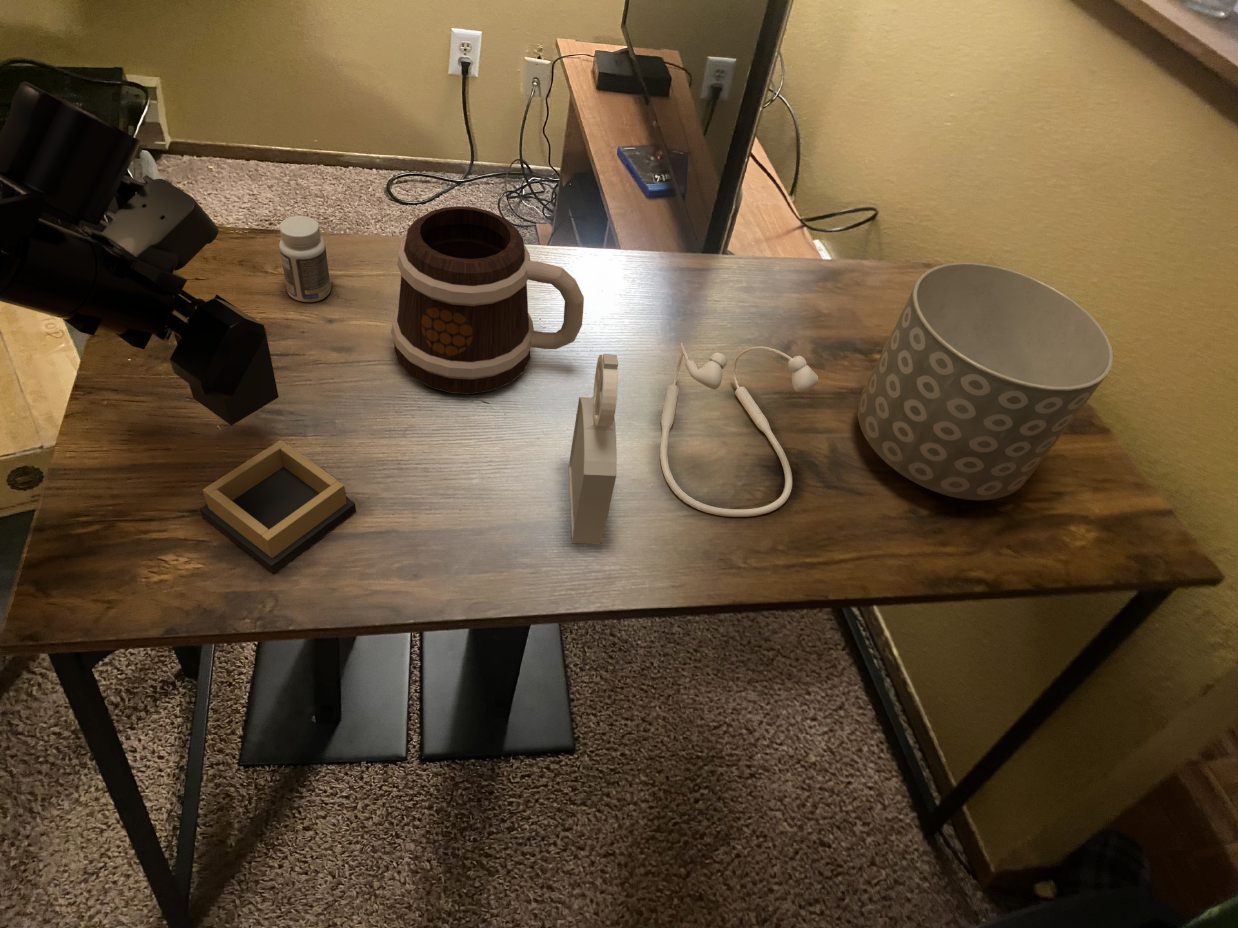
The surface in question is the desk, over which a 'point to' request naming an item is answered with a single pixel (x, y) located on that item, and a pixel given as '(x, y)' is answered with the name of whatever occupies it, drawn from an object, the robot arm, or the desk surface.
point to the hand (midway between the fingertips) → (236, 332)
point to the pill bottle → (304, 259)
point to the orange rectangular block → (244, 389)
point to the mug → (472, 301)
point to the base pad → (276, 505)
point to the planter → (980, 379)
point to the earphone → (712, 379)
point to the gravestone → (594, 455)
